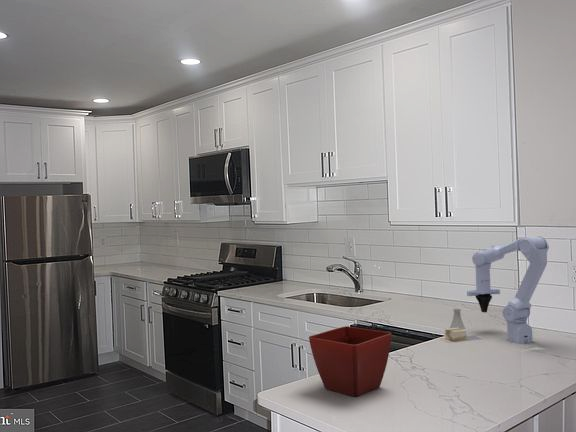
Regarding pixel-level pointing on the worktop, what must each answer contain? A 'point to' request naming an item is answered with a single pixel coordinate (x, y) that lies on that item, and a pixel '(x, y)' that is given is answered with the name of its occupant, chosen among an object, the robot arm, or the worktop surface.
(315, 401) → the worktop surface
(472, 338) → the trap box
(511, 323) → the robot arm
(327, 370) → the plant pot
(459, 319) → the flask
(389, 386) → the worktop surface
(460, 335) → the birch block
